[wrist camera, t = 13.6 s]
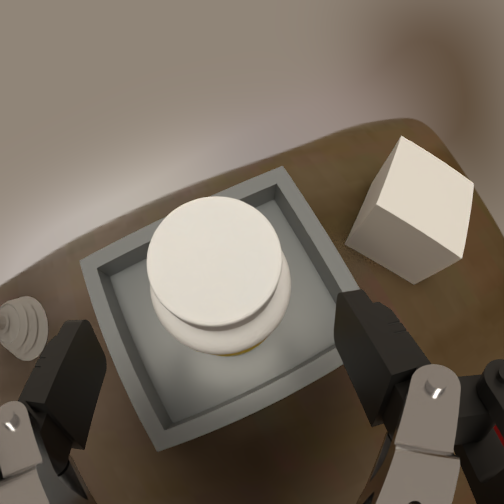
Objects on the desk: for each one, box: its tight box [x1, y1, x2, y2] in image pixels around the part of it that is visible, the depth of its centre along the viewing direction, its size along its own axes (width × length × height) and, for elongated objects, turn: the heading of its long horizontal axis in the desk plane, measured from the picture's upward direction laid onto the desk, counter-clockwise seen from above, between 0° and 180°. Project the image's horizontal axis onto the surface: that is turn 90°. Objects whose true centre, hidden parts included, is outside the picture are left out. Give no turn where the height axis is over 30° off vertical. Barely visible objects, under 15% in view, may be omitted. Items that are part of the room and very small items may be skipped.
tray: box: [80, 166, 360, 452], centre depth 17 cm, size 14×12×3 cm
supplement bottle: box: [147, 196, 291, 357], centre depth 13 cm, size 5×5×10 cm
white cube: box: [345, 136, 474, 284], centre depth 18 cm, size 6×6×6 cm
